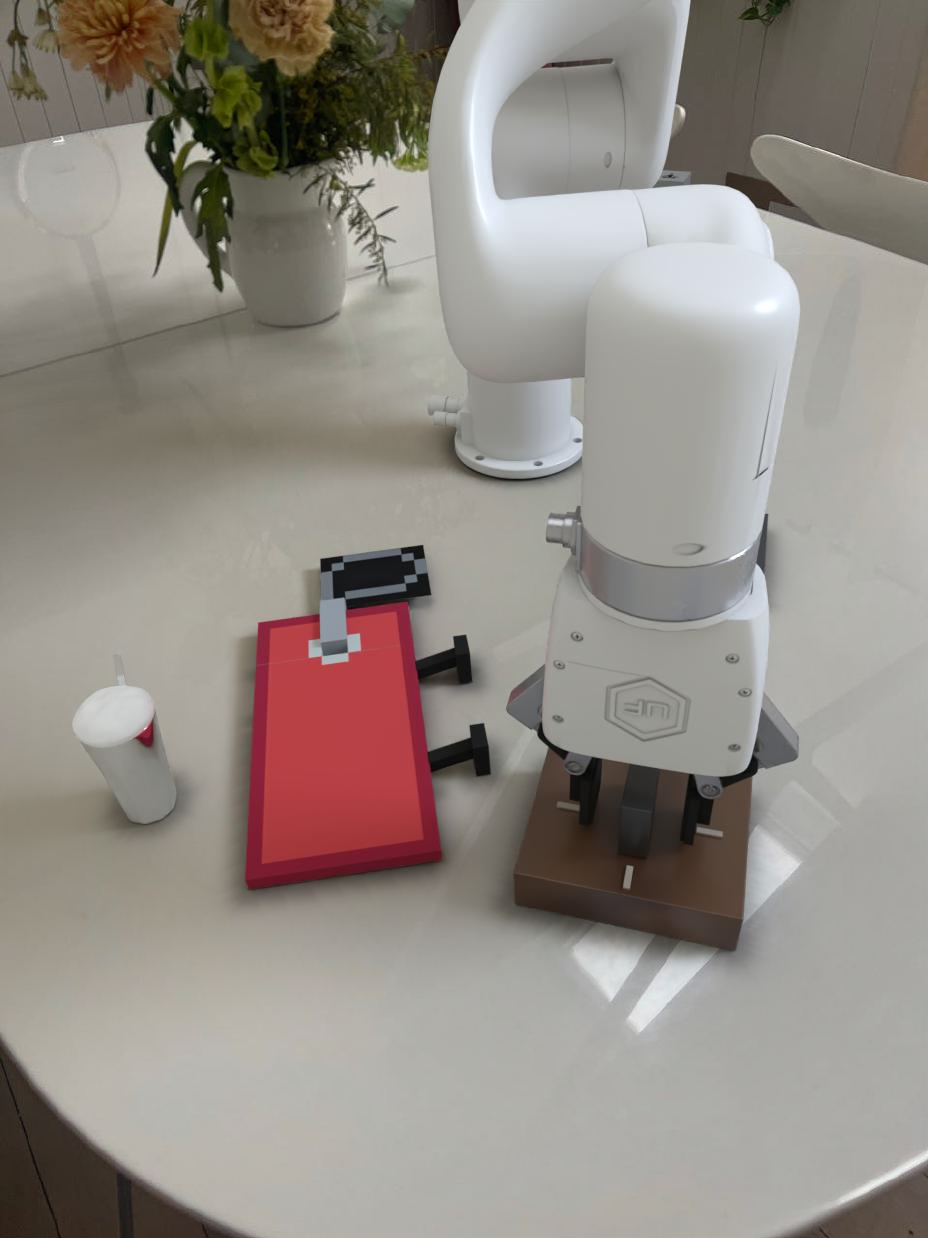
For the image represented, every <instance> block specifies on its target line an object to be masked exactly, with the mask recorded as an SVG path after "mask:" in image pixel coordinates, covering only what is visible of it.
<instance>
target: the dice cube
mask: <svg viewBox="0 0 928 1238" xmlns="http://www.w3.org/2000/svg"><path fill="white" fill-rule="evenodd" d="M691 180H692V171H687V170H685V171H683V170H668V169H666V170H665V169H663V171H662V173H661V176H660V178H659V179H658V181H657V182H656V184H655V185H654V186H653V187H652V188H660V187H671V186H683V185H691Z"/></svg>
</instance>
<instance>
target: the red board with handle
mask: <svg viewBox="0 0 928 1238" xmlns="http://www.w3.org/2000/svg"><path fill="white" fill-rule="evenodd" d="M319 564H320V565H319V567H320V568H319V569H320V570H319V571H320V599H321V600H319V613H316V614H309V615H302V616H295V617H287V618H281V619H280V618H279V619H274V620H273V619H271V620H266V621H258V622H257V634H256V635H257V637H256V638H257V639H256V654H255V655H256V657H255V658H256V659H255V675H254V676H255V677H254V694H253V695H254V697H253V714H252V715H253V716H252V733H251V735H252V736H251V752H250V753H251V755H250V772H249V773H250V774H249V775H250V776H249V793H248V795H249V796H248V813H247V815H248V816H247V831H246V832H247V833H246V849H245V851H246V852H245V868H244V869H245V871H244V872H245V873H244V881H245V884H246V887H247V890H255V889H261V888H267V887H274V886H280V885H288V884H294V883H301V882H308V881H314V880H321V879H326V878H334V877H339V876H346V875H352V874H359V873H365V872H367V873H368V872H372V871H380V870H385V869H386V870H387V869H391V868H398V867H404V866H411V865H418V864H424V863H425V864H426V863H430V862H438V861H443V853H442V846H441V838H440V830H439V824H438V817H437V815H438V814H437V808H436V800H435V794H434V793H435V792H434V785H433V780H432V779H433V778H432V773H435V772H438V771H441V770H444V769H447V768H451V767H453V766H456V765H459V764H462V763H465V762H469V761H472V762H473V766H474V772H475V777H485V776H491V774H492V772H491V771H492V770H491V759H490V746H489V740H488V736H487V735H488V734H487V731H486V726H485V722H482V723H481V722H480V723H474V724H473V723H472V724H469V725H468V728H469V736H470V737H469V738H465V739H462V740H458V741H456V742H452V743H450V744H447V745H443V746H441V747H438V748H435V749H432V750H429V749H428V742H427V741H428V740H427V734H426V728H425V719H424V713H423V703H422V697H421V696H422V695H421V691H420V683H419V680H422V679H426V678H429V677H431V676H434V675H437V674H440V673H443V672H446V671H449V670H452V669H455V668H456V672H457V678H458V683H459V684H466V683H473V669H472V661H471V651H470V646H469V640H468V636H467V634H461V635H453V636H452V639H453V647H451V648H449V649H446V650H443V651H439V652H437V653H435V654H432V655H431V654H430V655H428V656H426V657H423V658H420V659H416V653H415V645H414V639H413V638H414V637H413V631H412V630H413V629H412V624H411V622H412V621H411V617H410V608H409V603H408V601H402V600H407V599H414V598H421V597H429V596H432V590H431V589H432V588H431V583H430V577H429V572H428V564H427V560H426V553H425V548H424V544H418V545H417V544H416V545H412V546H403V547H396V548H389V549H388V548H387V549H382V550H381V549H380V550H375V551H368V552H359V553H353V554H352V553H351V554H345V555H337V556H329V557H321V558H320V559H319ZM400 600H401V601H402V602H396V603H388V604H381V605H374V606H366V607H360V608H352V609H347V608H350V607H356V606H357V607H358V606H364V605H370V604H371V605H372V604H379V603H385V602H392V601H400Z"/></svg>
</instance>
